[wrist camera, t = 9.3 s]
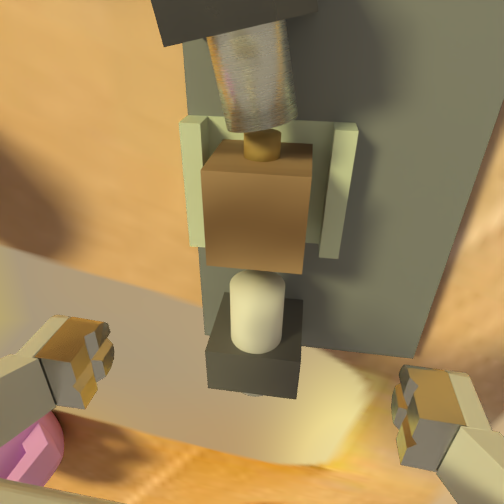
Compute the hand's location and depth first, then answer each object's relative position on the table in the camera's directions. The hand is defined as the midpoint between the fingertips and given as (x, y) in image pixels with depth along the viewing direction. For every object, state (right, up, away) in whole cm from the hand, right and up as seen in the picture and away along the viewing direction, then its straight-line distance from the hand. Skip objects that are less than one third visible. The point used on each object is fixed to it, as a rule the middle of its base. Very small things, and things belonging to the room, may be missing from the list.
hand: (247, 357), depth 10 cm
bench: (+4, +7, +10) cm, 13 cm away
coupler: (+1, +6, +9) cm, 11 cm away
